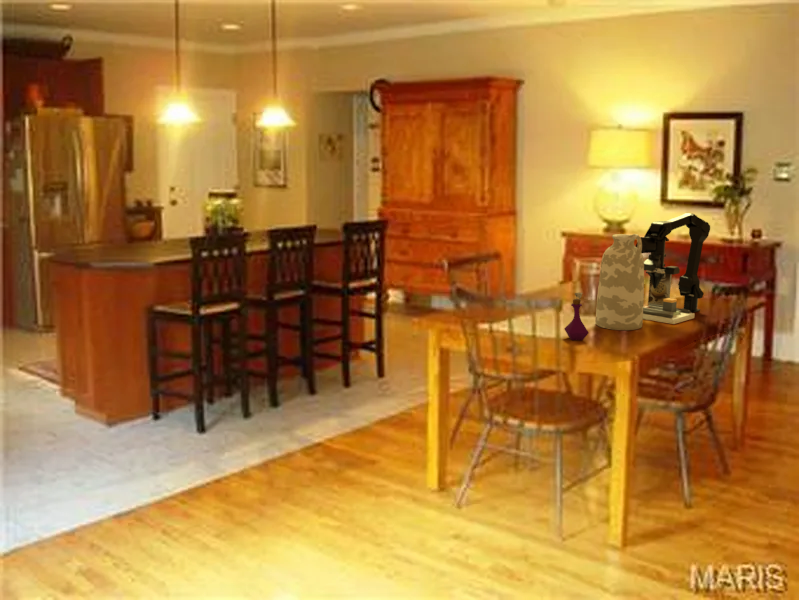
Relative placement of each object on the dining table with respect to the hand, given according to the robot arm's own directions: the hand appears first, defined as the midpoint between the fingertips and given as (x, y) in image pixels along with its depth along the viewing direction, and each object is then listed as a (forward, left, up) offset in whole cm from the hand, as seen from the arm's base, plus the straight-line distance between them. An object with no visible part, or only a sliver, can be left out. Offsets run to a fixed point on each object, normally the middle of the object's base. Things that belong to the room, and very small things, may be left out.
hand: (655, 288), depth 391 cm
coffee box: (-25, -12, -12) cm, 30 cm away
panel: (+1, +3, -12) cm, 12 cm away
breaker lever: (+1, +8, -10) cm, 12 cm away
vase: (+30, +1, -12) cm, 32 cm away
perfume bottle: (+63, +2, -12) cm, 64 cm away
